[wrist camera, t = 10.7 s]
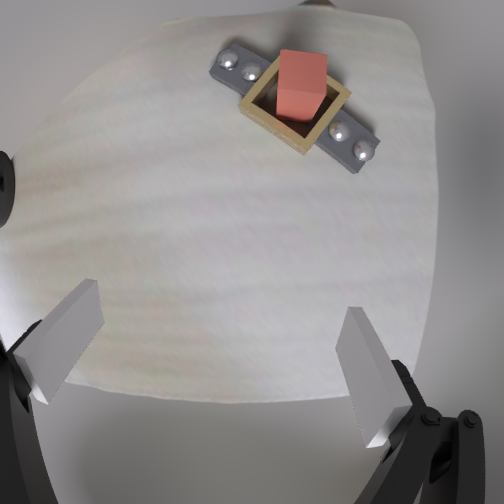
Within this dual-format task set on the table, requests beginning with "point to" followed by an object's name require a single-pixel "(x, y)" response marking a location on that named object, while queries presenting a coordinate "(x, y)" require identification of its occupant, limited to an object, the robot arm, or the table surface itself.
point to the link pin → (300, 85)
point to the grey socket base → (323, 134)
